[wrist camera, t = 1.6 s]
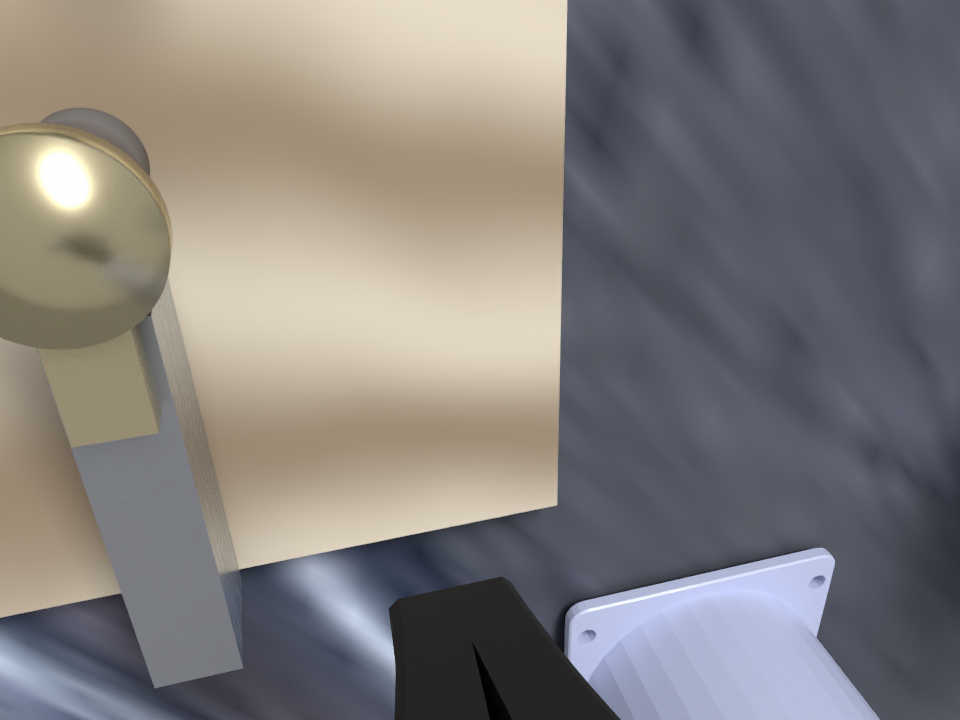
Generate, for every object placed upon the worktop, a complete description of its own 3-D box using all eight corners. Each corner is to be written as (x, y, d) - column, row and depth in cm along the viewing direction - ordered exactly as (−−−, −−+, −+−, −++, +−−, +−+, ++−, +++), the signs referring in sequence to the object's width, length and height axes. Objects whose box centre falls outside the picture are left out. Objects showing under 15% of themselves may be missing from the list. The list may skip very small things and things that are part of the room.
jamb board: (545, 484, 20) (600, 588, 17) (-43, 599, 17) (-97, 744, 15) (558, -588, 11) (678, -757, 8) (-674, -686, 8) (-1164, -992, 5)
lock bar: (-44, 85, 12) (-124, 148, 9) (160, 69, 13) (141, 124, 10) (132, 600, 17) (114, 738, 15) (269, 572, 18) (277, 700, 15)
